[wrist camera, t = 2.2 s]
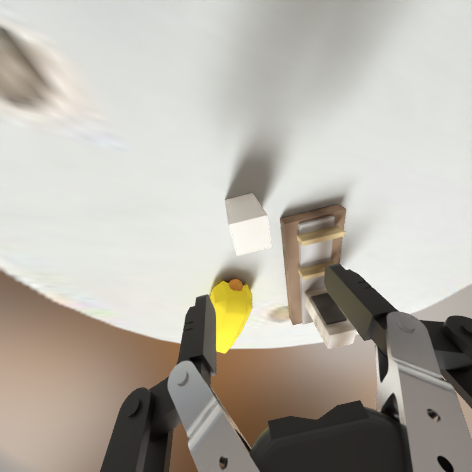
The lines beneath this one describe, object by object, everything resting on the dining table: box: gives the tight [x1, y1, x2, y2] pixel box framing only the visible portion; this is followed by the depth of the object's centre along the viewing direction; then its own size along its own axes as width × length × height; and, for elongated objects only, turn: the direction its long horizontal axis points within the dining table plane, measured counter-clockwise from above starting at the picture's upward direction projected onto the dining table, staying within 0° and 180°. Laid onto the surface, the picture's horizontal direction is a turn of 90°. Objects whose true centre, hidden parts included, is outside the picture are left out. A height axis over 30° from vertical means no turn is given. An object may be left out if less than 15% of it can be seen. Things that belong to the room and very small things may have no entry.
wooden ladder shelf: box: [280, 204, 357, 349], centre depth 28 cm, size 9×26×11 cm, turn 13°
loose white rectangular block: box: [225, 193, 272, 256], centre depth 21 cm, size 4×4×8 cm
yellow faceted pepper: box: [210, 279, 252, 353], centre depth 32 cm, size 18×7×8 cm
